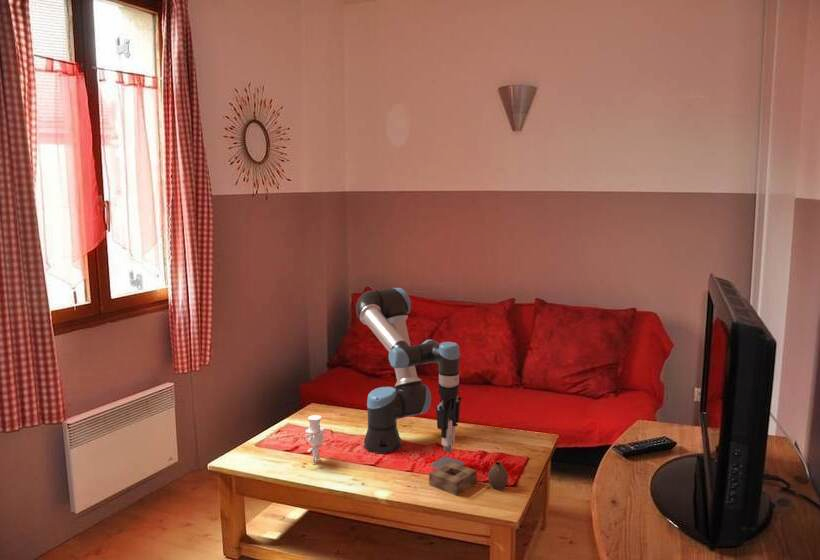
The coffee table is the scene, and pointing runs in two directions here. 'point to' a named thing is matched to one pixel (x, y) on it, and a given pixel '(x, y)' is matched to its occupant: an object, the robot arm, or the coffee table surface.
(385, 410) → the robot arm
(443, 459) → the mat
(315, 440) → the figurine
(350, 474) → the coffee table surface
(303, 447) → the coffee table surface
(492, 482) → the vase
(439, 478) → the block
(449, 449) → the peg
